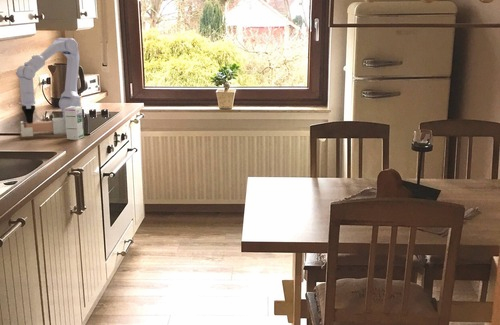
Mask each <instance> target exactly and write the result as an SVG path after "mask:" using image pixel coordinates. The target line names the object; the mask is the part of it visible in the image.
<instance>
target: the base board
mask: <svg viewBox="0 0 500 325" xmlns="http://www.w3.org/2000/svg"><path fill="white" fill-rule="evenodd" d="M19 138H20V141H25V140H27V141H28V140H38V139H42V140H43V139H57V138H67V134H57V135H54V134H53V131H46V132H33V136H26V137H22V132H20V133H19Z"/></svg>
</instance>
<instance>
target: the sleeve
mask: <svg viewBox="0 0 500 325" xmlns="http://www.w3.org/2000/svg"><path fill="white" fill-rule="evenodd" d="M51 119H52V120H51V121H53V134H54V135H57V134H67V132H66V121H65V117H63V116H62V117H52V118H51Z"/></svg>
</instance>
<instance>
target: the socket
mask: <svg viewBox="0 0 500 325" xmlns="http://www.w3.org/2000/svg"><path fill="white" fill-rule="evenodd" d="M20 130H21V132H20V133H22V137H26V136H33V128H32V127H24V121H20Z"/></svg>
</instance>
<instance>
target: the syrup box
mask: <svg viewBox="0 0 500 325" xmlns="http://www.w3.org/2000/svg"><path fill="white" fill-rule="evenodd" d="M83 118H84V117H83V108H82V106H81V107H80V106H70V107H68V108H65V121H66V132H67V137H66V140H75V141H79V140H81V139H83V138H85V130H84V119H83Z"/></svg>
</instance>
